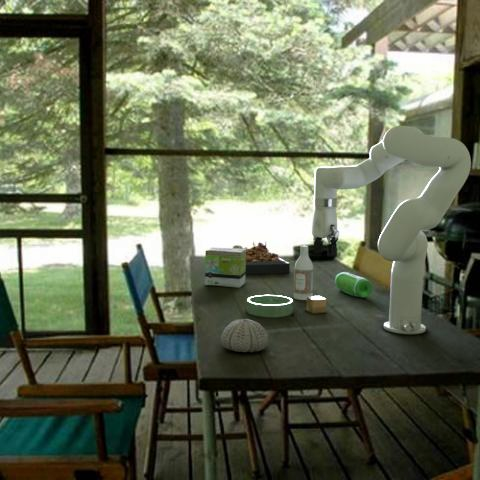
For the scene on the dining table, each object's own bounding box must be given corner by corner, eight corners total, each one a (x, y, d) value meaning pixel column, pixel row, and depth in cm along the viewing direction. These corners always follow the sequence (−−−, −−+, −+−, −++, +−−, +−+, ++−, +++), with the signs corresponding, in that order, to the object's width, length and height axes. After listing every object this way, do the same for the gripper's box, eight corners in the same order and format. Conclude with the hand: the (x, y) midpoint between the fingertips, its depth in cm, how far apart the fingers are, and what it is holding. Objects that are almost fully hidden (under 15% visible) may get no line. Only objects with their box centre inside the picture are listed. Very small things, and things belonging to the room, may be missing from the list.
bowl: (293, 319, 202) (294, 305, 202) (247, 318, 203) (247, 304, 202) (290, 308, 218) (291, 295, 217) (247, 307, 218) (247, 294, 217)
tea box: (204, 285, 254) (204, 250, 252) (211, 281, 264) (211, 246, 262) (240, 288, 250) (240, 251, 248) (245, 283, 260) (246, 248, 258)
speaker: (333, 290, 248) (333, 271, 247) (348, 289, 251) (349, 270, 250) (356, 299, 232) (356, 279, 231) (372, 298, 234) (373, 278, 233)
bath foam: (290, 299, 230) (291, 246, 228) (298, 296, 236) (299, 244, 234) (307, 301, 227) (309, 247, 224) (315, 298, 233) (316, 245, 230)
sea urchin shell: (219, 341, 177) (219, 314, 176) (266, 341, 178) (267, 313, 177) (221, 356, 164) (221, 326, 163) (272, 355, 165) (272, 326, 163)
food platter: (218, 258, 323) (219, 239, 321) (264, 257, 328) (265, 238, 327) (236, 274, 279) (237, 251, 278) (289, 273, 284) (289, 250, 283)
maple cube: (325, 313, 210) (326, 299, 210) (312, 314, 209) (312, 299, 208) (319, 310, 215) (319, 295, 214) (306, 311, 213) (306, 296, 213)
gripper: (304, 202, 215) (303, 251, 217) (327, 205, 199) (327, 258, 201) (323, 202, 218) (322, 250, 220) (348, 204, 202) (347, 257, 204)
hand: (324, 254), depth 211 cm, fingers open, 9 cm apart
